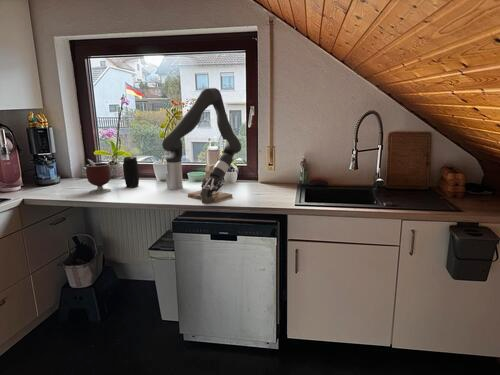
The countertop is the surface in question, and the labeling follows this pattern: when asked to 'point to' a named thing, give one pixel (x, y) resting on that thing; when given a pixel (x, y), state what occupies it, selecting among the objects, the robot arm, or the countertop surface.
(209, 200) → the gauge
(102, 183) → the mate gourd
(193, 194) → the brown flat slatted board
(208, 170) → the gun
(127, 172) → the portable speaker
